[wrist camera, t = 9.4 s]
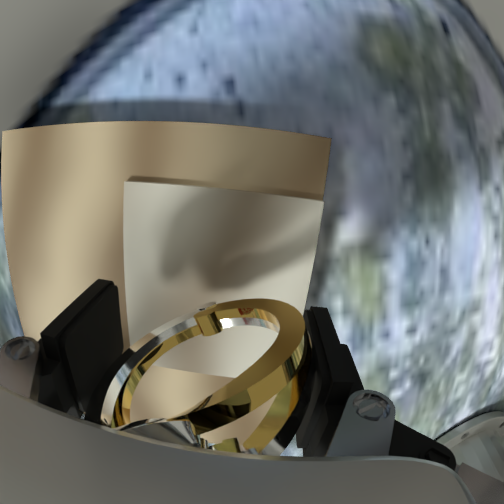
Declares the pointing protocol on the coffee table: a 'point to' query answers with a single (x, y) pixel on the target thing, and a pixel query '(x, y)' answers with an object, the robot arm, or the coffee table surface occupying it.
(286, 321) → the ring
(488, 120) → the coffee table surface
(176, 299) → the board
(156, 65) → the coffee table surface
